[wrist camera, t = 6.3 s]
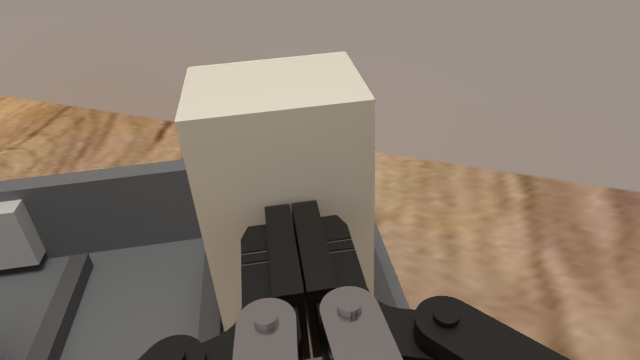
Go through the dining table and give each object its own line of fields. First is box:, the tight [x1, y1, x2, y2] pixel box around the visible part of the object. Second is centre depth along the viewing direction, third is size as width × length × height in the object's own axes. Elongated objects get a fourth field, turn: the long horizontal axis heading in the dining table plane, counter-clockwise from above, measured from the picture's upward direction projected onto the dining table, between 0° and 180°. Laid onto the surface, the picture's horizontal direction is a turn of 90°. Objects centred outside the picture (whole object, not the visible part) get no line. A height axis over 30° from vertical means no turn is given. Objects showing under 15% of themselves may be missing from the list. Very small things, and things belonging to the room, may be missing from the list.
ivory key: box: [175, 51, 375, 360], centre depth 16 cm, size 5×4×10 cm
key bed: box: [0, 160, 410, 360], centre depth 19 cm, size 22×14×5 cm, turn 98°
